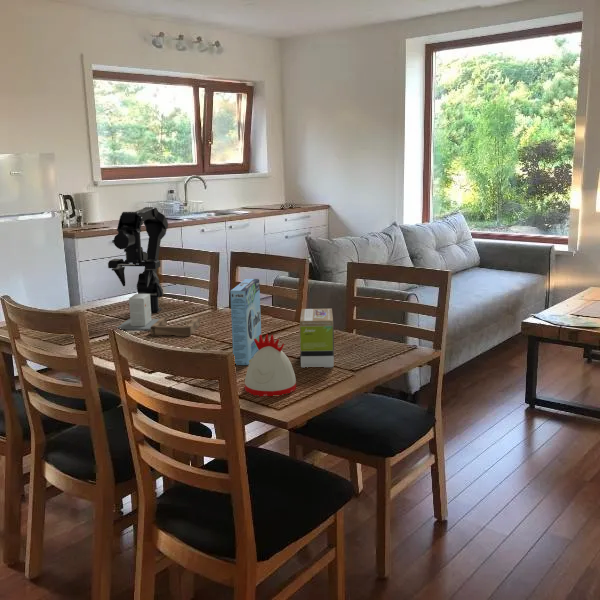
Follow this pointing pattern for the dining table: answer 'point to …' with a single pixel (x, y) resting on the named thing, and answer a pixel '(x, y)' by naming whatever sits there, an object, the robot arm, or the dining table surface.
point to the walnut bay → (174, 328)
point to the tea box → (316, 338)
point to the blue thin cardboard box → (245, 320)
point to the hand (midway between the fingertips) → (135, 286)
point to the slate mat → (127, 326)
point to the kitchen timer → (269, 370)
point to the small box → (140, 309)
